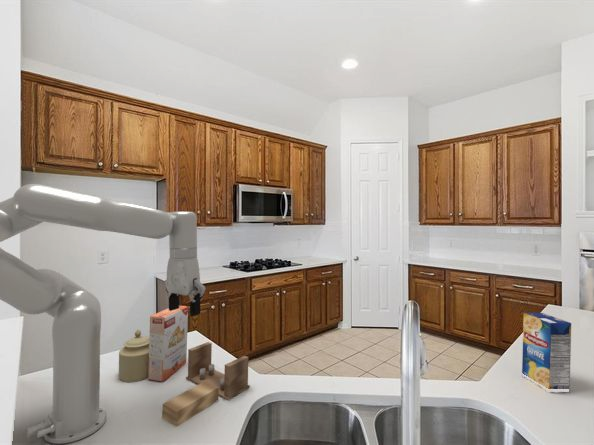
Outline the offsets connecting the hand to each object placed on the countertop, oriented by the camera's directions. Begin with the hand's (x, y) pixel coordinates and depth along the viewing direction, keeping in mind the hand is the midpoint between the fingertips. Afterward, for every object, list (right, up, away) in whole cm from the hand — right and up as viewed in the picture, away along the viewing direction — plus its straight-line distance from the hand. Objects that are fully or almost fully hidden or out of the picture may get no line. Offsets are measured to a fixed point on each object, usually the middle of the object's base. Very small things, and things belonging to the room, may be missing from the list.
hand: (184, 312), depth 91 cm
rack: (+7, -25, +8) cm, 27 cm away
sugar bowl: (-21, -25, +15) cm, 36 cm away
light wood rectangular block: (+4, -26, -5) cm, 26 cm away
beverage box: (+115, -28, +12) cm, 119 cm away
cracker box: (-11, -25, +16) cm, 31 cm away
